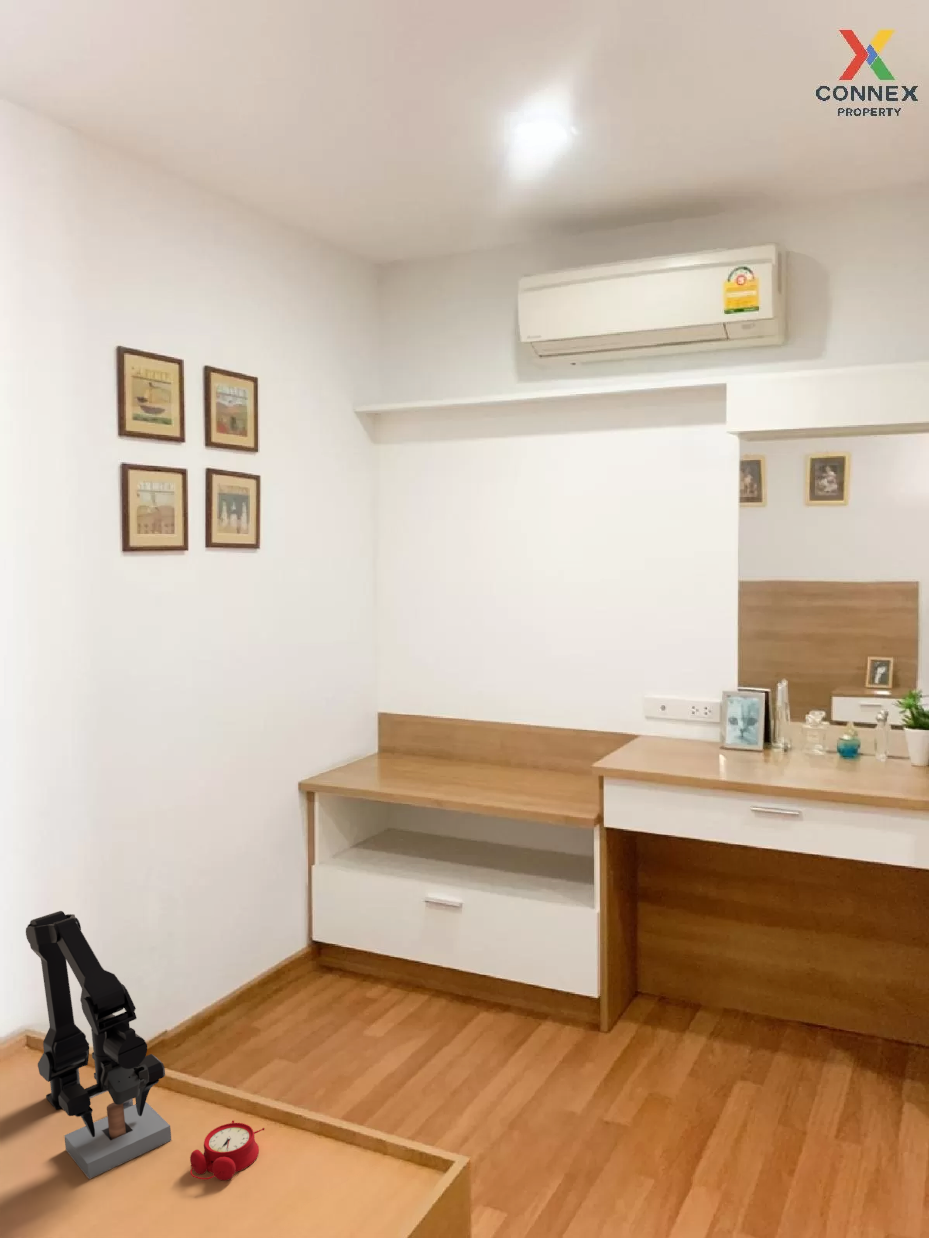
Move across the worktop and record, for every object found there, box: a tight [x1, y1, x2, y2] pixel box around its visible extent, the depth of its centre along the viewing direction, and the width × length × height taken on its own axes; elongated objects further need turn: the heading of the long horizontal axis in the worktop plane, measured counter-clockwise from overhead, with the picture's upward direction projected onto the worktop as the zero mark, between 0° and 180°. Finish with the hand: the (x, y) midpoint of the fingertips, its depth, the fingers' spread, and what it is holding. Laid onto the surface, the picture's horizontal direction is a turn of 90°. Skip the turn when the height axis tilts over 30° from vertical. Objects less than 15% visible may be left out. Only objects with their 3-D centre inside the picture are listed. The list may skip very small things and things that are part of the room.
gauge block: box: [63, 1101, 172, 1180], centre depth 194 cm, size 12×16×3 cm
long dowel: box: [106, 1101, 126, 1140], centre depth 193 cm, size 3×3×8 cm
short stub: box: [123, 1098, 134, 1109], centre depth 205 cm, size 3×3×4 cm
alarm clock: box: [189, 1120, 265, 1181], centre depth 187 cm, size 10×6×15 cm
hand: (116, 1125), depth 193 cm, fingers open, 9 cm apart
